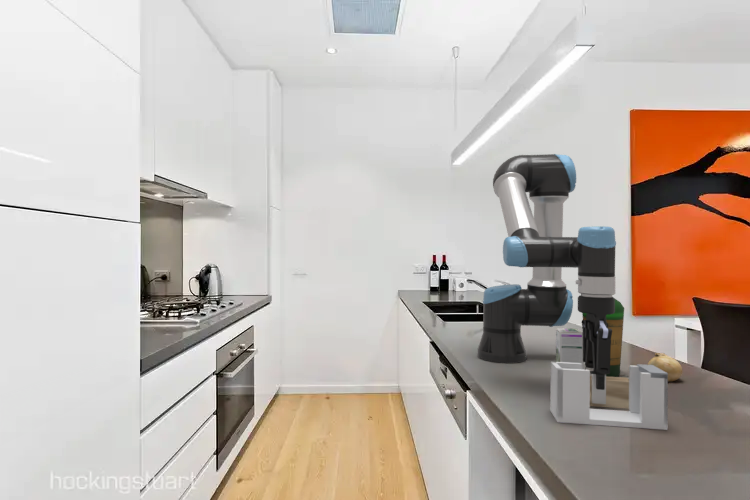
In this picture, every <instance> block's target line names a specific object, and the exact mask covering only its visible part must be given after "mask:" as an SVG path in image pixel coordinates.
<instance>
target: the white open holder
mask: <svg viewBox="0 0 750 500" xmlns="http://www.w3.org/2000/svg"><path fill="white" fill-rule="evenodd" d="M549 376H550V386H549V388H550V391H549V393H550V396H549V397H550V399H549V401H550V402H549V404H550V405H549V407H550V408H549V411H550V412H551V414H552V416H553V418H554V420H555V421H556V422H557V423H563V424H577V425H579V424H580V425H593V426H604V427H620V428H622V427H623V428H634V429H651V430H661V431H663V430H665V431H668V429H669V428H668V427H669V426H668V421H669V419H668V417H669V416H668V415H669V413H668V409H669V407H668V406H669V405H668V404H669V400H668V399H669V395H668V394H669V392H668V391H669V388H668V387H669V385H668V383H669V382H668V373H666V372H664V371H663V370H661V369H659V368H657V367H655V366H654V365H648V364H644V363H643V364H640V363H639V364H638V363H637V364H636V365H632V364H631V365H628V379H629V409H628V410H616V409H614V410H613V409H601V408H591V406H590V371H589V370H585V368H584V369H582V364H581V363H570V362H556V361H550V375H549Z"/></svg>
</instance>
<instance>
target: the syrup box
mask: <svg viewBox="0 0 750 500" xmlns="http://www.w3.org/2000/svg"><path fill="white" fill-rule="evenodd" d="M555 362H570V363H581V364H582V369H584V370H585V362H583V331H581V330H580V329H578V328H571V327H561V328H560V327H559V328H557V327H555Z"/></svg>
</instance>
